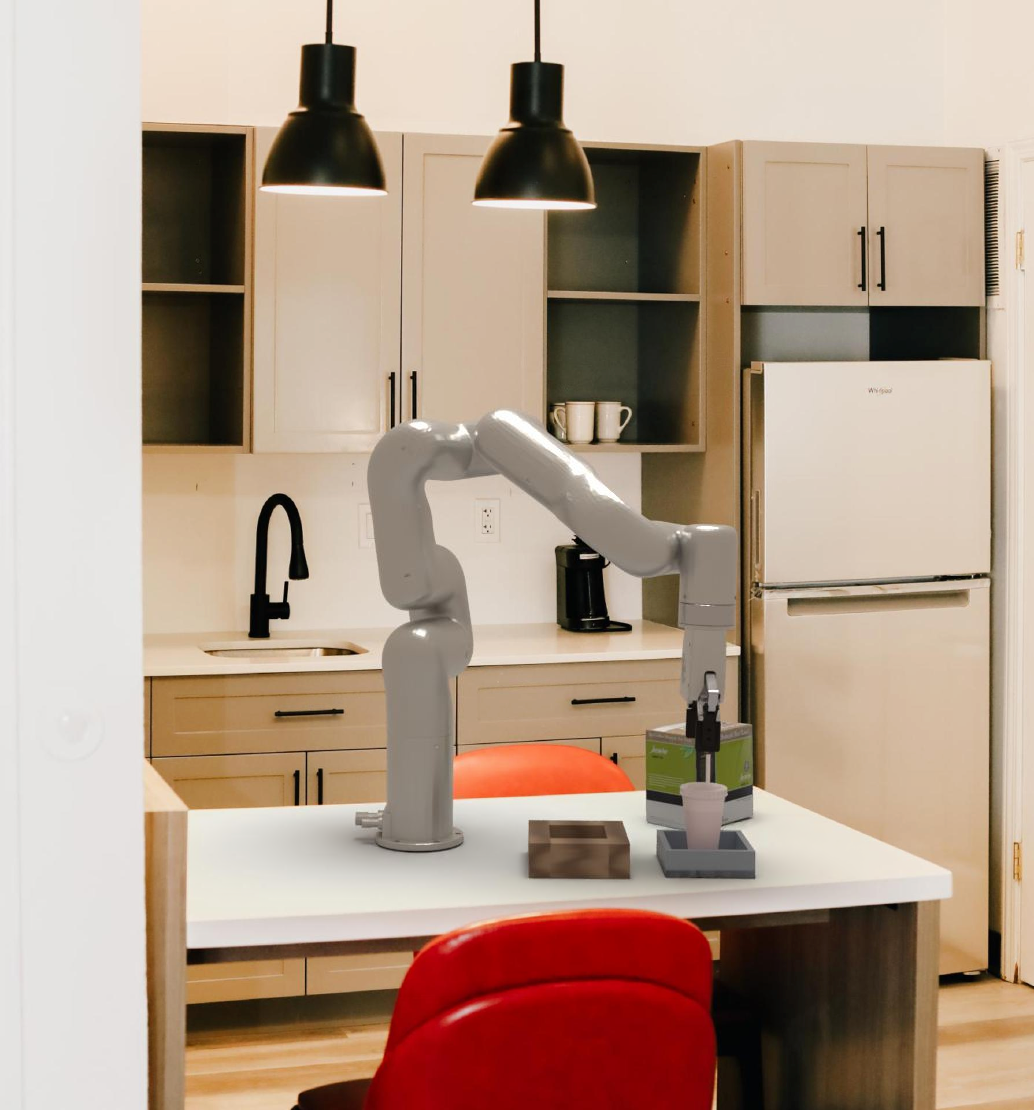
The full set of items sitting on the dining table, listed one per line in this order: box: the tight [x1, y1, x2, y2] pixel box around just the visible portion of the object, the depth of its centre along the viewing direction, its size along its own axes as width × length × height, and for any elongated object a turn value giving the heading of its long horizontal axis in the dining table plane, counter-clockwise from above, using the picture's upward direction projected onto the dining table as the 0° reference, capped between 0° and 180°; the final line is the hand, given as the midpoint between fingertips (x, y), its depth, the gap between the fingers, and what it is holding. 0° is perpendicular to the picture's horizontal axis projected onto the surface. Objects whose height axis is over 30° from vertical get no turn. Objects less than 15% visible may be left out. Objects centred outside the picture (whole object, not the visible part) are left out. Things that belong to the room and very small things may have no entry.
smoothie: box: [680, 754, 728, 850], centre depth 180 cm, size 6×6×14 cm
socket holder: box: [527, 819, 631, 880], centre depth 180 cm, size 13×13×4 cm
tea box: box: [645, 719, 754, 830], centre depth 207 cm, size 15×10×15 cm
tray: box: [655, 829, 756, 879], centre depth 180 cm, size 12×12×4 cm
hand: (702, 744), depth 180 cm, fingers open, 9 cm apart
